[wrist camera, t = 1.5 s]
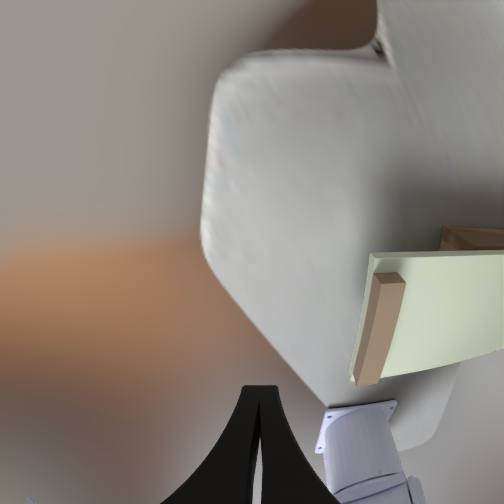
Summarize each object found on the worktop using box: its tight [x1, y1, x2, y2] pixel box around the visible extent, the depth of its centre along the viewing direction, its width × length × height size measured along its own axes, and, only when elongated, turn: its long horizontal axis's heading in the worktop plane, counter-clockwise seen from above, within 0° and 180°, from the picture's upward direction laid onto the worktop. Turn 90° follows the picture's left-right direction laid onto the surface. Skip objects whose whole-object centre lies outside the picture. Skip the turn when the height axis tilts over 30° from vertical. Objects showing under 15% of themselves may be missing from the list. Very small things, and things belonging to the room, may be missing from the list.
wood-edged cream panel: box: [348, 250, 504, 387], centre depth 14 cm, size 9×16×2 cm, turn 92°
